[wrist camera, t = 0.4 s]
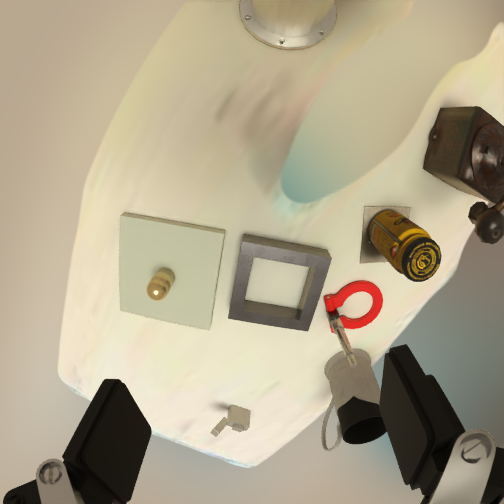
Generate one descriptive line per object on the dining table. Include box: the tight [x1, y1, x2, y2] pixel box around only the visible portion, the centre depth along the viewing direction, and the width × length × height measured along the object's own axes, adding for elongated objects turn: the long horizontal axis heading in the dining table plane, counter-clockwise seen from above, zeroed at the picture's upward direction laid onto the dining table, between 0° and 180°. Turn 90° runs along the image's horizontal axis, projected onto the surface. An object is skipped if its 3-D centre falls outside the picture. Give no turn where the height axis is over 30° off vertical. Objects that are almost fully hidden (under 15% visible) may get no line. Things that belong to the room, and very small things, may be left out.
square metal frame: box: [228, 234, 332, 331], centre depth 43 cm, size 12×12×3 cm
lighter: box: [210, 405, 250, 436], centre depth 52 cm, size 7×2×8 cm, turn 64°
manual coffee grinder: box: [424, 106, 504, 244], centre depth 28 cm, size 16×11×18 cm
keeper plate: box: [119, 213, 225, 330], centre depth 44 cm, size 16×15×2 cm
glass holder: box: [321, 349, 387, 451], centre depth 45 cm, size 9×14×15 cm, turn 151°
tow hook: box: [324, 281, 383, 368], centre depth 40 cm, size 8×13×9 cm
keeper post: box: [146, 267, 175, 301], centre depth 41 cm, size 3×3×6 cm
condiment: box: [360, 206, 441, 282], centre depth 36 cm, size 7×8×12 cm
